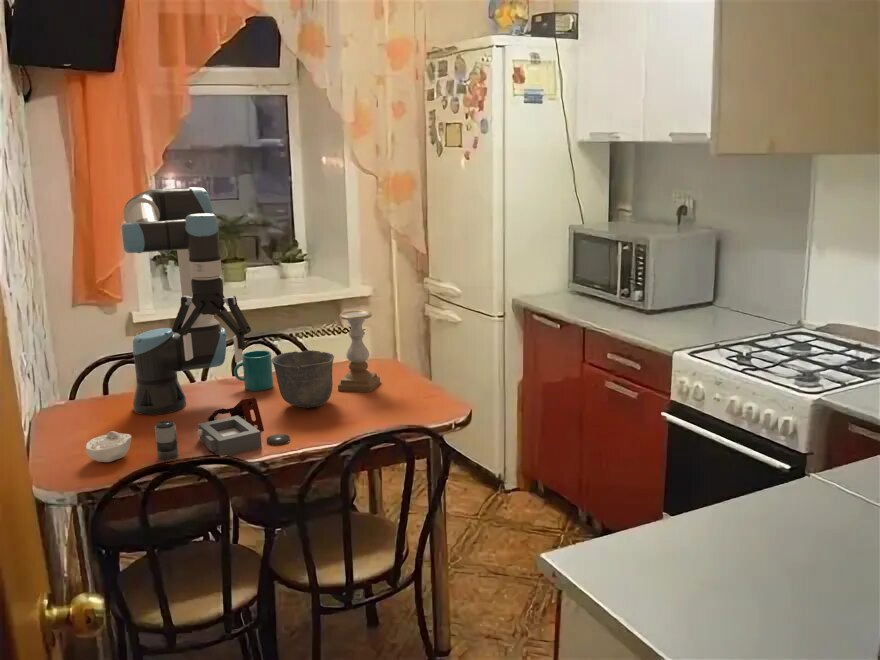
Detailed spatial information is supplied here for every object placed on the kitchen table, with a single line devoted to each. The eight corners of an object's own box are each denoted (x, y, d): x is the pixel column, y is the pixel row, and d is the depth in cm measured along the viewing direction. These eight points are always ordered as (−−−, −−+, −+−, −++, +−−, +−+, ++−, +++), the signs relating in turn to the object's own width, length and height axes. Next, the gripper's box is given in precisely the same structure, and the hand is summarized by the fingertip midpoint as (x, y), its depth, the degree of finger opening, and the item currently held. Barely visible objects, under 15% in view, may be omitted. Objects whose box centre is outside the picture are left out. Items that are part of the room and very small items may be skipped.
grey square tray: (195, 440, 223) (193, 424, 222) (239, 430, 229) (237, 415, 228) (216, 458, 210) (214, 442, 209) (261, 447, 216) (260, 431, 215)
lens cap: (263, 440, 222) (263, 437, 222) (284, 435, 225) (284, 432, 225) (272, 446, 217) (272, 443, 217) (293, 441, 220) (293, 438, 220)
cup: (234, 386, 270) (231, 353, 267) (271, 382, 274) (268, 349, 271) (237, 394, 262) (234, 360, 259) (275, 389, 266) (272, 355, 263)
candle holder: (380, 382, 271) (377, 310, 265) (370, 392, 260) (367, 317, 255) (348, 380, 273) (345, 309, 267) (337, 390, 263) (333, 317, 257)
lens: (155, 456, 213) (151, 422, 211) (175, 451, 215) (171, 418, 213) (161, 462, 209) (157, 428, 207) (181, 457, 211) (177, 424, 209)
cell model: (77, 465, 208) (73, 440, 206) (111, 448, 219) (108, 424, 217) (109, 470, 204) (106, 444, 203) (142, 453, 215) (139, 428, 214)
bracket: (227, 439, 224) (218, 403, 226) (215, 449, 236) (206, 415, 238) (264, 430, 229) (255, 396, 231) (250, 441, 241) (242, 408, 243)
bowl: (295, 420, 237) (292, 369, 233) (264, 406, 250) (260, 357, 246) (347, 405, 248) (344, 357, 245) (314, 393, 261) (311, 346, 258)
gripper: (152, 279, 204) (161, 362, 209) (247, 280, 199) (254, 365, 204) (168, 274, 211) (176, 354, 216) (260, 275, 206) (266, 357, 211)
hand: (214, 360), depth 210 cm, fingers open, 13 cm apart
